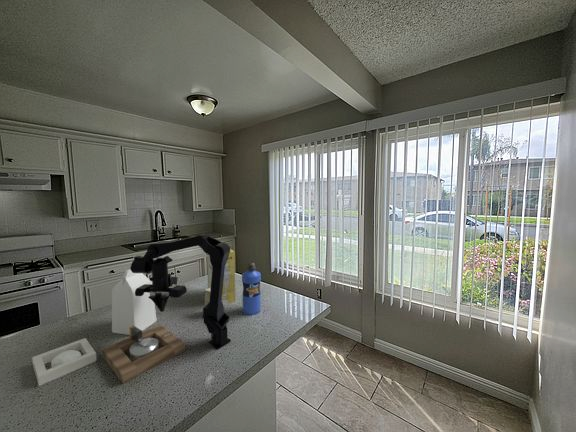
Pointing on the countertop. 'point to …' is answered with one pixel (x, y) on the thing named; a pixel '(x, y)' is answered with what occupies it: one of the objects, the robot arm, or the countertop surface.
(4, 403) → the countertop surface
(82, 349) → the frame
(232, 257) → the pasta box
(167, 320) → the countertop surface
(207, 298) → the skincare box
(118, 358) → the surround
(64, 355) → the garlic
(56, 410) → the countertop surface
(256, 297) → the water bottle
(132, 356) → the dial
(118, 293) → the milk
